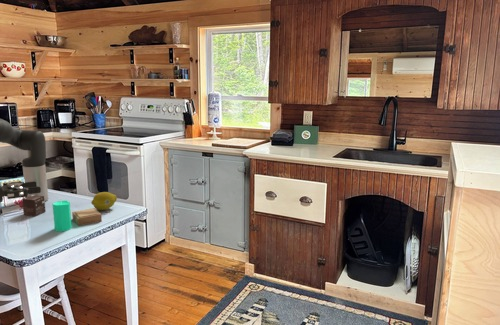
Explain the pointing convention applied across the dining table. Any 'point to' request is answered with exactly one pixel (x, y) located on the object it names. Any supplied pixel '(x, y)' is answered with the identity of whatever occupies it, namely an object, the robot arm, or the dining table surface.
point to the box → (33, 205)
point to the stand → (86, 216)
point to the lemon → (104, 200)
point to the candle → (62, 216)
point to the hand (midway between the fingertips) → (38, 186)
